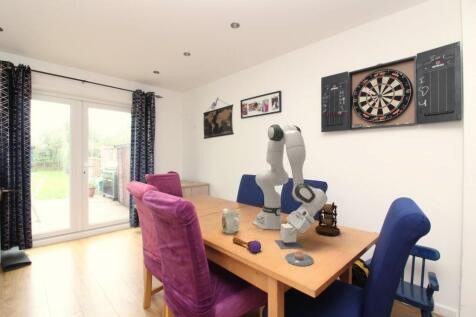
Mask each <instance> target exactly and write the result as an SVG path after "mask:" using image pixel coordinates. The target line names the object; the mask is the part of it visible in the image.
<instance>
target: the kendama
mask: <svg viewBox="0 0 476 317" xmlns="http://www.w3.org/2000/svg"><path fill="white" fill-rule="evenodd" d="M232 243H233V244H240V245H245V246H246V247H247V248H248V249H249V250H250V251H251V252H252V253H259V252H260V251H261V249H262V244H261V242H260V241H259V240H256V239H255V240H250V241H248V242H246V241H245V240H243V239H241V238H239V237H237V236H233V238H232Z"/></svg>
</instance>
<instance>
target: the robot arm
mask: <svg viewBox="0 0 476 317" xmlns="http://www.w3.org/2000/svg"><path fill="white" fill-rule="evenodd" d="M267 130H268V131H267V137H268V143H267V151H266V158H265V159H266V162H267V164H268V165H269V166H270V170H262V171H259V172H257V173H256V175H255V183H256V185H257V186H259V187H260V189H261V190H262V192H263V199H264V200H263V201H264V202H263V203H264V205H262V206H261V209H262V211H260V212H258V213H257V214H256V217H255V220H253V221H252V225H255V226H256V227H258V228H260V229H262V230H281V224H284V223H283V219H282V206H281V204H282V203H281V201H282V200H281V194H280V193H279V192H277V191H276V188H275V187H279V186H283V185H286V184H287V183H288V182H289V179H290V177H289V176H290V175H289V173H288V172H287V170H286V169H285V168H284V151H285V150H286V151H285V152H286V155H287V159H288V163H289V166H290V168H291V169H290V170H291V174H292V175H291V177H292V182H293V186H292V190H291V197H292V199H293V200H294V201H295V202H297V203H301V205H300V206H299V207H298V208H297V209H296V210H293V211H292V212H290V213H289V215H287V216H286V218H285V220H286V221H287V222H286V224H292V225H293V226H294V227H295V228H294V230H292V231H290V232H289V234H290V235H291V236H292V235H293V234H295V233H296V234H297V233H300V234H304V233H306V232H307V231H308V230H309V229H310V228H311V227H312V225H314V224H315V223H316V220H315V216H316V214H318V211H319V210H321V211H322V209H321V208H322V207H323V206H324V205H325V204H327V202H328V196H327V193H326V192H325V191H324V190H322V189H321V188H315V187H314V186H313V187H312V186H310V185H309V184H307V183H305V181H304V173H303V168H304V165H305V161H306V157H307V156H306V155H307V152H306V146H305V141H304V137H303V135H302V130H301V128H300V127H299V126H297V125H291V124H277V123H276V124H272V125H270V127H269V128H268V129H267ZM284 149H285V150H284Z"/></svg>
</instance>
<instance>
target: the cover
mask: <svg viewBox="0 0 476 317" xmlns="http://www.w3.org/2000/svg"><path fill="white" fill-rule="evenodd" d="M294 228H295V227H294V226H293V225H292V224H287V223H283V224H281V229H280V240H283V241H284V243H287V242H296V240H297V233H295V234H293V235H292V236H291V235H290V234H289V232H290V231H292V230H294Z"/></svg>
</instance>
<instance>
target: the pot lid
mask: <svg viewBox="0 0 476 317" xmlns="http://www.w3.org/2000/svg"><path fill="white" fill-rule="evenodd" d="M284 258H285V260H286V262H287V263H288V264H289V265H290V264H291V265H292V266H296V267H309V266H311V265H313V264H314V261H315V260H314V258H313V257H312V256H311V255H309V254H306V253H304V252H303V251H295V252H290V253H287V254H286V255H285V257H284Z"/></svg>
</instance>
